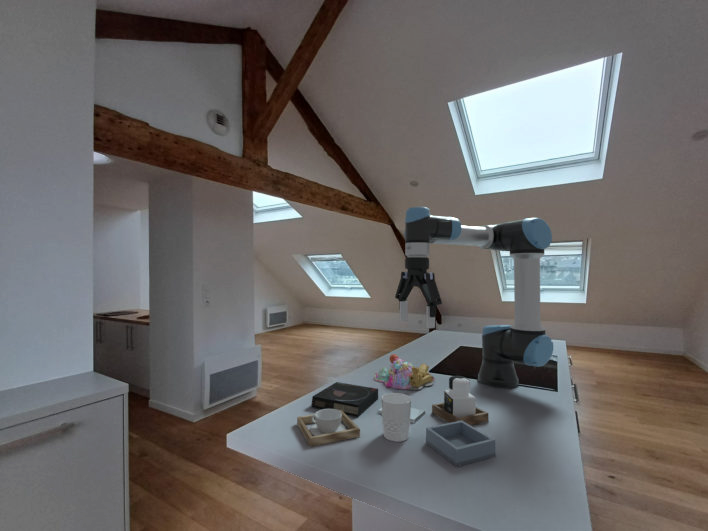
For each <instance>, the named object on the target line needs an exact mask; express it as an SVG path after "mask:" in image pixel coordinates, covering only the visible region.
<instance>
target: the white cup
mask: <svg viewBox="0 0 708 531" xmlns="http://www.w3.org/2000/svg"><path fill="white" fill-rule="evenodd" d="M381 408H382V414H381V417H382V418H381V419H382V425H383V426H382V428H383V429H382V431H383V434H382V435H383V436H384V438H385V439H386V440H388V441H389V442H390V441H391V442H396V443H397V442H399V443H400V442H404V441H407V440H408V439H409V435H410V427H411V422H410V414H411V408H412V398H411V397H410V396H409V395H407V394H404V393H398V392H390V393H385V394H383V395H382V396H381Z"/></svg>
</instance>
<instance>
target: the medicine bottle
mask: <svg viewBox="0 0 708 531" xmlns="http://www.w3.org/2000/svg"><path fill="white" fill-rule="evenodd" d="M443 392H444V393H443V396H444V397H443V398H444V399H443V401H444V402H443V403H444V410H445V411H447V412H448V413H450V414H452V415H454V416H455V417H457V418H459V417H464V416H469V415H474V414H476V407H477V405H476V396H474V395H473V394H471V393H470V392H471V380H470V379H469V378H468V377H466V376H464V375H463V376H462V375H452V376H450V377H449V378H448V389H444V391H443Z"/></svg>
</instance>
